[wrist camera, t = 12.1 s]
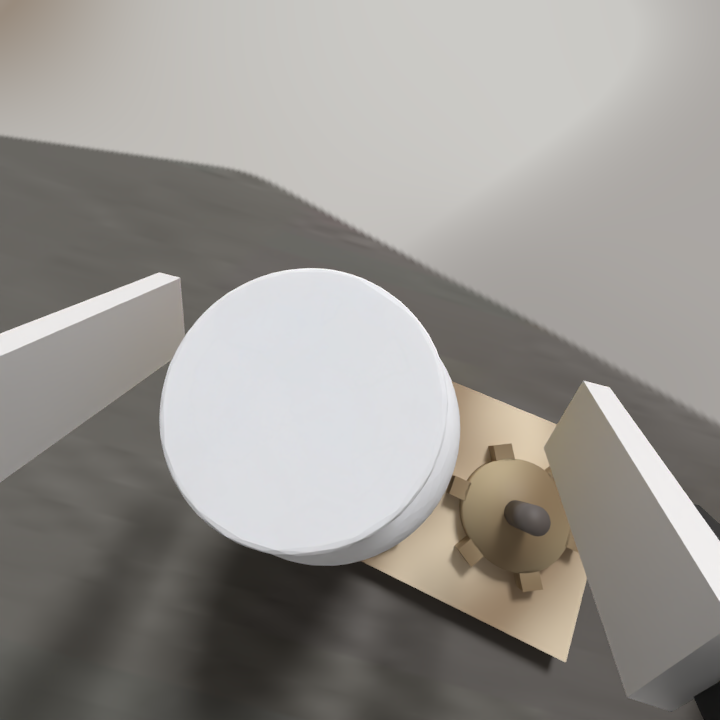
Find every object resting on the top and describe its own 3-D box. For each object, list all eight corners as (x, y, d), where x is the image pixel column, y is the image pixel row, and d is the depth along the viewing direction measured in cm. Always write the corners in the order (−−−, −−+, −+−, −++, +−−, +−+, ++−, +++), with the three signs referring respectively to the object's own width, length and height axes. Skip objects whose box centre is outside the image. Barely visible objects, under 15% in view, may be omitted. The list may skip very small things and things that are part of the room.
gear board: (207, 479, 20) (169, 483, 16) (290, 319, 22) (274, 291, 18) (554, 651, 17) (605, 703, 13) (606, 450, 19) (661, 448, 16)
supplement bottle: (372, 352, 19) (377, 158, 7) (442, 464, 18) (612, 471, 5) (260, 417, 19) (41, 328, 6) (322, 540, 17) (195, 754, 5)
